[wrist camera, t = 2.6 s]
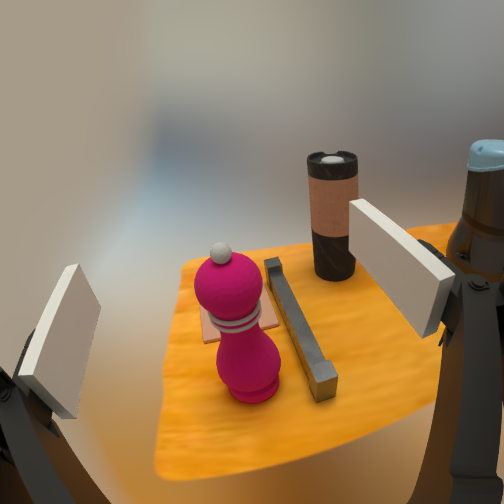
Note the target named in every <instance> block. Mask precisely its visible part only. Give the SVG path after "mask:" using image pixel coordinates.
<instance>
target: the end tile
mask: <svg viewBox="0 0 504 504" xmlns="http://www.w3.org/2000/svg"><path fill="white" fill-rule="evenodd" d="M260 301H261V307H262V314H261V317H260V319H259V321H258V322H259V326H260V328H261V329H262V330H265V329H269V328H273V327H277V326H279V322H278V319H277V317H276V314H275V311H274V309H273V306H272V304H271V301H270V299H269V296H268V293H267V291H266V288H265V286H264V283H263V289H262V293H261V296H260ZM200 312H201V322H202V332H203V341H204V343H205V344H206V343H210V342H215V341H219V340H221V335H220V331H219V330H218V329H216V328H215V327H214V326H213V325H212V324H211V322H210V317H209V316H208V312H207V310H205V309H204V308H203V307H202V306H201V305H200Z"/></svg>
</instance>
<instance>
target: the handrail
mask: <svg viewBox="0 0 504 504" xmlns="http://www.w3.org/2000/svg"><path fill="white" fill-rule="evenodd" d="M264 266H265V272H266V279H267V283H268V286H269V288H270V290H272V292H273V295H274V297H275V300H276V302H277V304H278V307H279V309H280V312H281V314H282V317H283V319H284V321H285V324H286V326H287V329H288V331H289V334H290V336H291V338H292V341H293V343H294V346H295V348H296V351H297V353H298V355H299V358H300V360H301V363H302V365H303V368H304V370H305V372H306V375H307V377H308V380H309V382H310V389H311V392H312V394H313V396H314V399H315V401H316V403H317V402H320V401H323V400H326V399H329V398H332V397H335V395H336V388H337V381H338V375H337V373H336V371H335V368H334V366H333V364H332V362H331V360H327V361H326V360H325V358H324V356H323V354H322V352H321V350H320V348H319V345H318V343H317V341H316V339H315V337H314V335H313V333H312V331H311V329H310V327H309V325H308V323H307V321H306V319H305V317H304V315H303V313H302V311H301V309H300V307H299V305H298V303H297V301H296V298H295V296H294V294H293V292H292V290H291V288H290V286H289V284H288V282H287V280H286V278H285V276H284V274H283V269H282V264H281V262H280V260H279V258H278V257H275V258H271V259H266V260H264Z"/></svg>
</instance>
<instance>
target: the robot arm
mask: <svg viewBox="0 0 504 504" xmlns="http://www.w3.org/2000/svg"><path fill="white" fill-rule="evenodd" d="M467 169H468V176H467V185H466V191H465V198H464V204H463V211H462V216H461V218H460V220H459V222H458V224H457V226H456V227H455V229H454V231H453V233H452V234H451V236H450V238H449V241H448V245H447V249H446V255H447V258H446V257H444V255H443V254H442V253H441V252H438V250H437V249H436V248H435V247H433V246H432V245H431V244H429V243H427V242H425V241H423V240H420V239H419V240H415V239H414V238H413V237H412V236H411V235H409V234H408V233H407V232H406V231H404V230H403V229H402V228H401V227H399V226H398V225H397V224H396V223H394V222H393V221H392V220H391V219H389V218H388V217H387V216H385V215H384V214H382V213H381V212H380V211H379V210H377V209H376V208H375V207H373V206H372V205H371V204H369V203H368V202H367V201H365V200H364V199H359V200H353V201H349V251H350V252H351V253H352V255H353V256H354V257H355V258H356V259H357V260H358V261H359V263H360V264H361V265H362V266H363V267H364V268H365V270H366V271H367V272H368V273H369V274H370V275H371V277H372V278H373V279H374V280H375V281H376V282H377V284H378V285H379V286H380V287H381V288H382V290H383V291H384V292H385V293H386V294H387V296H388V297H389V298H390V299H391V300H392V302H393V303H394V304H395V305H396V307H397V308H398V309H399V310H400V312H401V313H402V314H403V315H404V317H405V318H406V319H407V320H408V322H409V323H410V324H411V325H412V327H413V328H414V329H415V331H416V332H417V333H418V334H419V336H420V337H421V338H425V337H427V336H429V335H431V334H433V333H435V332H437V329H438V327H439V324H440V321H442V322H443V323H444V325H445V326H446V327H445V330H444V332H443V335H442V337H441V340H440V342H439V345H438V346H441V344H442V342H443V348H442V359H441V369H440V377H439V385H438V392H437V398H436V404H435V410H434V415H433V421H432V425H431V430H430V435H429V439H428V443H427V448H426V451H425V455H424V459H423V463H422V467H421V470H420V473H419V477H418V480H417V483H416V486H415V489H414V492H413V494H412V496H411V498H410V500H409V501H408V503H407V504H501V500H502V495H503V487H504V485H503V481H502V479H501V478H499V477H498V476H497V473H496V468H497V461H498V454H499V445H500V435H501V421H502V401H503V406H504V141H503V140H480V141H477V142H475V143H474V144H473V145H472V146H471V148H470V155H469V162H468V164H467ZM100 310H101V306H100V304H99V302H98V300H97V299H96V297H95V295H94V293H93V291H92V289H91V287H90V285H89V283H88V281H87V279H86V277H85V275H84V273H83V271H82V269H81V267H80V265H79V263H78V264H74V265H70V266H67V267H66V268H65V270H64V272H63V274H62V276H61V278H60V279H59V281H58V283H57V285H56V287H55V290H54V291H53V293H52V295H51V297H50V300H49V302H48V304H47V306H46V308H45V310H44V312H43V314H42V316H41V319H40V321H39V323H38V325H37V328H36V329H34V330H33V332H32V333H31V334H30V336H29V337H28V339H27V341H26V344H25V346H24V349H23V351H22V354H21V356H20V359H19V361H18V364H17V366H16V369H15V372H14V375H13V378H12V379H11V378H10V377H9V376H8V374H7V373H6V372H5V371H4V370H3V369H2V368H1V367H0V504H111V503H110V502H109V500H108V499H107V498H106V497H105V495H104V494H103V493H102V492H101V490H100V489H99V488H98V486H97V485H96V484H95V483H94V481H93V480H92V478H91V477H90V476H89V474H88V473H87V471H86V470H85V469H84V467H83V466H82V464H81V463H80V461H79V460H78V458H77V457H76V455H75V454H74V452H73V451H72V449H71V447H70V446H69V444H68V442H67V441H66V439H65V437H64V436H63V434H62V433H61V431H60V429H59V427H58V425H57V424H56V422H55V421H54V420H53V419H52V418H51V417H52V412H54V413H56V415H58V416H59V417H60V418H61V419H77V413H78V407H79V401H80V395H81V389H82V384H83V379H84V374H85V370H86V365H87V361H88V356H89V352H90V348H91V344H92V340H93V336H94V332H95V327H96V324H97V321H98V317H99V313H100Z"/></svg>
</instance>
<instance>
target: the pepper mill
mask: <svg viewBox="0 0 504 504" xmlns="http://www.w3.org/2000/svg"><path fill="white" fill-rule="evenodd" d="M210 256H211V258H209V259H207V260H206V261H205V262H204V263H203V264H202V265H201V266H200V268H199V269H198V271H197V273H196V277H195V282H194V288H195V294H196V297H197V299H198V301H199V303H200V305H201V306H202V307H203V308H204V309H205V310H207V312H208V316H209V317H210V322H211V324H212V325H213V326H214V327H215V328H216V329H218V330H219V331H220V335H221V342H220V345H219V348H218V352H217V359H216V365H217V370H218V374H219V376H220V378H221V379H222V381H223V382H224V383H225V384H226V385H227V386H228V387H229V390H230V392H231V394H232V395H233V396H234V397H235V398H236V399H238V400H239V401H242V402H245V403H259V402H263V401H265V400H267V399H269V398H270V397H271V396H272V395H273V394H274V393H275V392H276V390H277V389H278V386H279V375H278V373H279V371H280V366H281V359H280V355H279V352H278V349H277V347H276V345H275V344H274V342H273V341H272V340H271V338H270V337H269V336H267V335H266V334H265V333H264V332H263V330H262V329H261V328H260V326H259V322H258V321H259V319H260V317H261V314H262V307H261V301H260V296H261V293H262V289H263V280H262V276H261V273H260V270H259V268H258V267H257V265H256V264H255V263H254V262H253V261H252V260H251V259H250V258H249V257H247V256H245V255H243V254H239V253H235V252H232V251H231V248H230V247H229V246H228V245H227V244H226V243H221V242H220V243H216V244H214V246H213V247H212V248H211V250H210Z"/></svg>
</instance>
